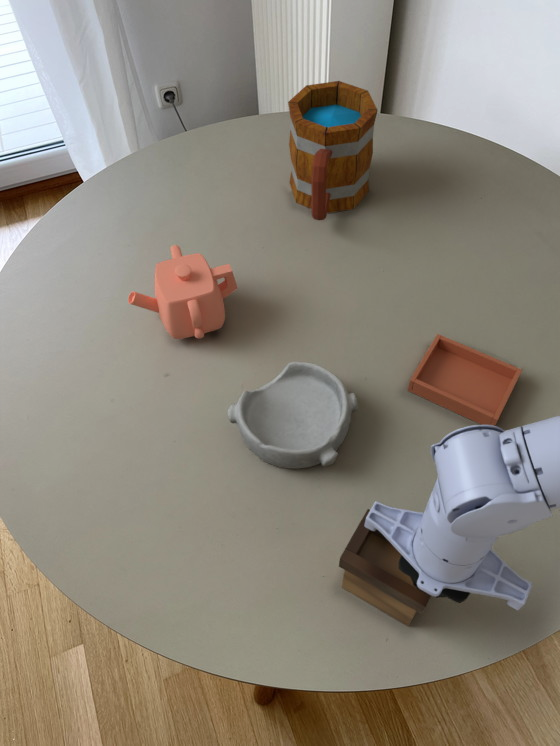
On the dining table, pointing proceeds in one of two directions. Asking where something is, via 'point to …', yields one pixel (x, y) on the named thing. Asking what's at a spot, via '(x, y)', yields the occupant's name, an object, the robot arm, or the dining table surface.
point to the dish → (295, 417)
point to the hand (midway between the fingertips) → (429, 583)
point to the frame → (379, 571)
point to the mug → (331, 146)
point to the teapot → (188, 294)
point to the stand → (387, 560)
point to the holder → (464, 380)
